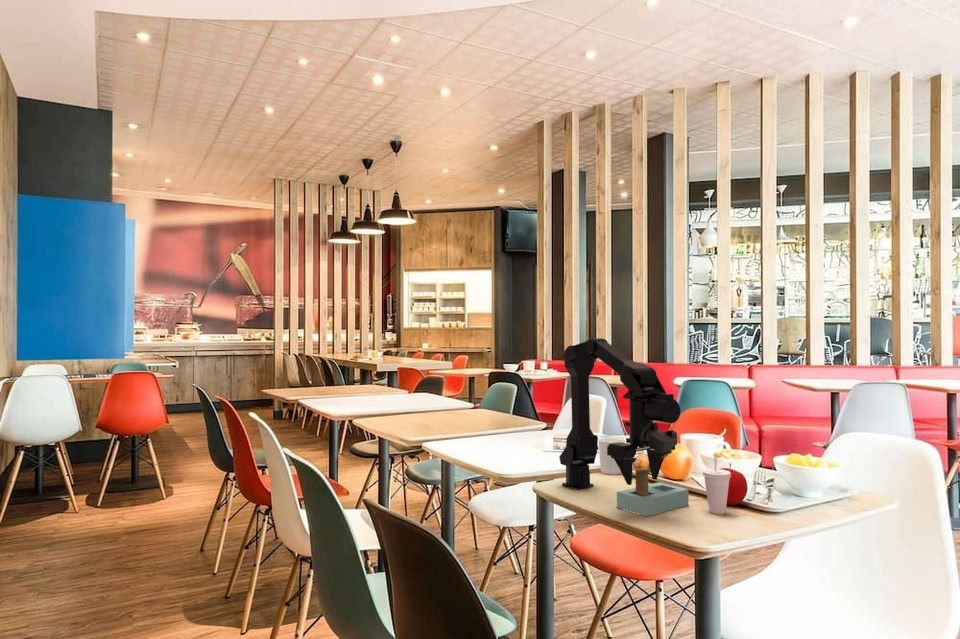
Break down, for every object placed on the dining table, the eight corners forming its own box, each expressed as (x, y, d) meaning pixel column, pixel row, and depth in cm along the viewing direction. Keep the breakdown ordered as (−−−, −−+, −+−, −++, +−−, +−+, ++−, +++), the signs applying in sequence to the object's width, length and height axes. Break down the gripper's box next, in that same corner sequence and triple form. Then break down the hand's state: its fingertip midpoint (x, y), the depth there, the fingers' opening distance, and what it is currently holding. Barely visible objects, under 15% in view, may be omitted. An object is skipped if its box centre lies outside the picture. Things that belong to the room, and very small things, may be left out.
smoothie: (698, 512, 150) (697, 454, 151) (709, 506, 155) (708, 450, 155) (725, 517, 146) (724, 457, 146) (735, 511, 151) (734, 453, 151)
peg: (633, 509, 153) (632, 470, 154) (641, 507, 155) (641, 468, 155) (642, 512, 151) (642, 472, 151) (651, 509, 153) (650, 471, 153)
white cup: (599, 474, 189) (598, 441, 189) (598, 469, 197) (598, 437, 197) (625, 475, 188) (625, 442, 188) (624, 469, 196) (623, 437, 196)
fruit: (755, 507, 154) (754, 466, 154) (719, 508, 153) (718, 467, 153) (737, 497, 163) (736, 459, 163) (703, 498, 162) (702, 460, 162)
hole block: (617, 507, 155) (616, 491, 155) (659, 497, 164) (659, 482, 164) (645, 516, 147) (645, 499, 147) (688, 505, 156) (688, 489, 156)
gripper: (640, 426, 141) (641, 495, 141) (692, 418, 152) (694, 482, 152) (605, 420, 151) (605, 485, 150) (656, 413, 161) (657, 474, 161)
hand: (642, 481), depth 153 cm, fingers open, 9 cm apart
